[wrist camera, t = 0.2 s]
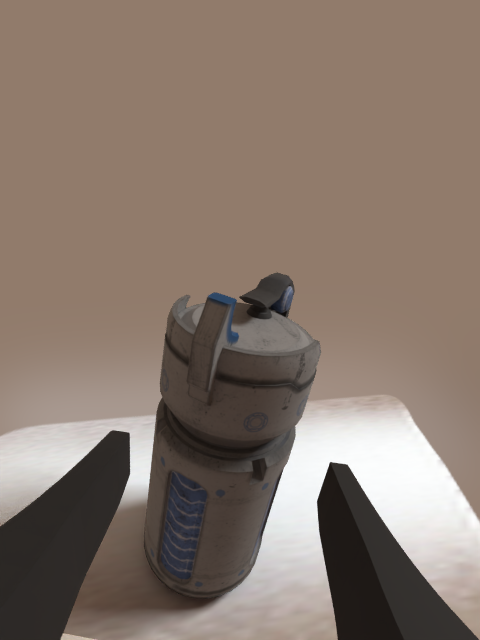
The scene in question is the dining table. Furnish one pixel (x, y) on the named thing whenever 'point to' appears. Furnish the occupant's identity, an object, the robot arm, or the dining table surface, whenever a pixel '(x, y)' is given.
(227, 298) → the beverage bottle
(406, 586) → the robot arm
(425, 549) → the dining table surface
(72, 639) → the panel
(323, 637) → the dining table surface
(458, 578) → the dining table surface
